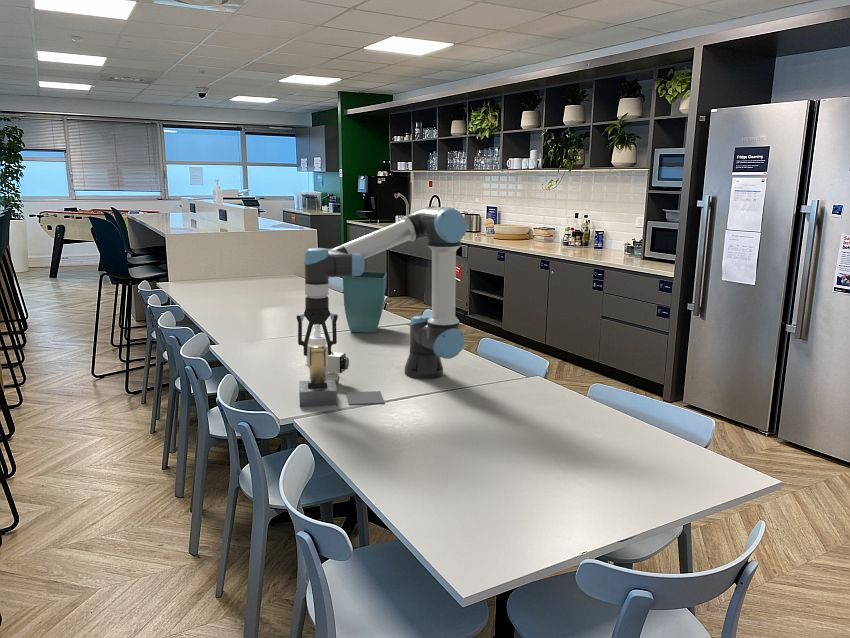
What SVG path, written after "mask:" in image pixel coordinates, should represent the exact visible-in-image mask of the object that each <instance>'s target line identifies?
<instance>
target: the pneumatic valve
mask: <svg viewBox="0 0 850 638" xmlns="http://www.w3.org/2000/svg"><path fill="white" fill-rule="evenodd" d="M346 355H347V354H346V353H343V352H334V350H331V355H328V366H326V380H335V384H337V383H339V382H340V379H341V378H340V375H339V374H342V373H344V372H345V371H346V370H348V369H349V366H350V359H349V357H347V356H346Z"/></svg>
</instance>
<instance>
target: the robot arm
mask: <svg viewBox="0 0 850 638" xmlns="http://www.w3.org/2000/svg"><path fill="white" fill-rule="evenodd" d="M466 233H467V221H466V217H465V216H464V215H463V213H461V211H459V210H457V209H455V208H451V207H447V206H445V207H444V206H443V207H441V206H433V205H432V206H426V207H424V208H421V209H418V210H416V211H413V212H412V213H409V214H407V215H404V216H403V217H401V220H400V221H397V222H395V223H392V224H390V225H387V226H384V227H382V228H380V229H377V230H374V231H373V232H371V233H368V234H365V235H363V236H361V237H357V238H356V239H354V240H353V239H352V240H351V241H348V242H346V243H344V244H341V245H338V246H336V247H332V248H324V247H323V248H322V247H311V248H307V249H306V250H305V252H304V295H305V298H304V299H305V303H304V305H305V308H304V312H303V313H298V314H296V321H297V345H298V346H302V347H303V356H304V357H306V356H307V365H306V366H307V367H310V346H309V345H308V341H309V338H310V334H312V333H311V332H312V330H313V325H314V326H315V324H320V325H321V326H322V330H323V331H324V332H323V331H322V332H323V334H325V337H326V341H327V345H325V365H326V366H328V355H331V351H332V346H333V345H336V344H337V343H338V342H337V341H338V338H337V321H338V318H339V317H338V313H332V312H330V308H329V305H330V304H329V303H330V302H329V299H330V298H329V296H328V295H329V288H330V287H329V285H330V284H329V278H343V277H350V276H352V277H353V276H360V275H361V274H362V273H363V272H365V259H367V258H369V257H373V256H374V255H377V254H379V253H382V252H384V251H386V250H388V249H389V250H390V249H391V248H393V247H396V246H399V245H401V244H403V243H405V242H407V241H410V242H415V241H418V240H421V239H427V247H428V248H429V249H430V251H431V314H430V315H429V314H426V315H424V314H423V315H414V316H412V317H411V318H410V324H409V354H408V357H407V360H406V363H405V365H404V374H405V375H406V376H407V377H409V378H414V379H419V380H420V379H423V380H424V379H425V380H429V379H436V378H441V377H442V376H443V375H444V366H443V364H442V359H446V360H447V359H448V360H449V359H453V358H456V357H457V356H458V355H459V354H460V352H462V351H463V348H464V346H465V342H466V341H465V340H466V339H465V335H464V333H463V331H461V330H460V320H459V318H458V317H457V316H456V290H457V289H456V288H457V287H456V283H457V282H456V279H457V277H456V274H457V269H456V268H457V250H459V248H460V247H461V240H463V239H464V238H463V237H464V236H465V235H466ZM329 317H330V320H331V327H332V328H331V329H332V333H331V335H332V340H331V337H330V338H329V334H328V332H329V331H328V328H327V327H328V326H327V324H326V322H327V321H328V319H329ZM304 318H305V319H306V320H307V321H308V325H307V326H308V328H307V327H306V331H305V332H306V333H305V336H304V340H303V321H304ZM441 358H442V359H441Z"/></svg>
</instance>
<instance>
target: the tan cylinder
mask: <svg viewBox="0 0 850 638" xmlns="http://www.w3.org/2000/svg"><path fill="white" fill-rule="evenodd" d="M326 374H327V372H326V365H325V346H324V345H311V346H310V366H309V381H310V382H311V383H314V384H321V383H324V382H326Z"/></svg>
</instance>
